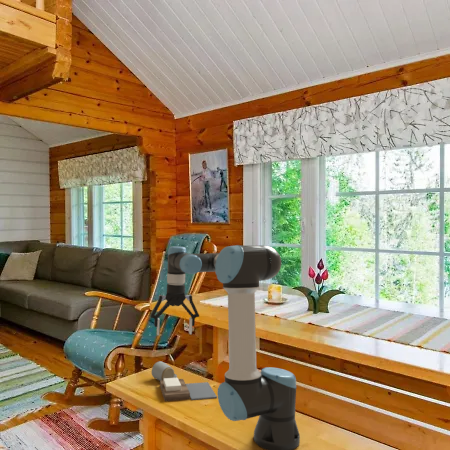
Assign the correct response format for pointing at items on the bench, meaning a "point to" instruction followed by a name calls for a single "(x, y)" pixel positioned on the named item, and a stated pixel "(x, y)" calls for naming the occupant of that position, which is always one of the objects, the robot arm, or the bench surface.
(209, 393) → the mat
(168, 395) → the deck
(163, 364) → the ceramic mug
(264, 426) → the robot arm
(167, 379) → the white rectangular block
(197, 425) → the bench surface
